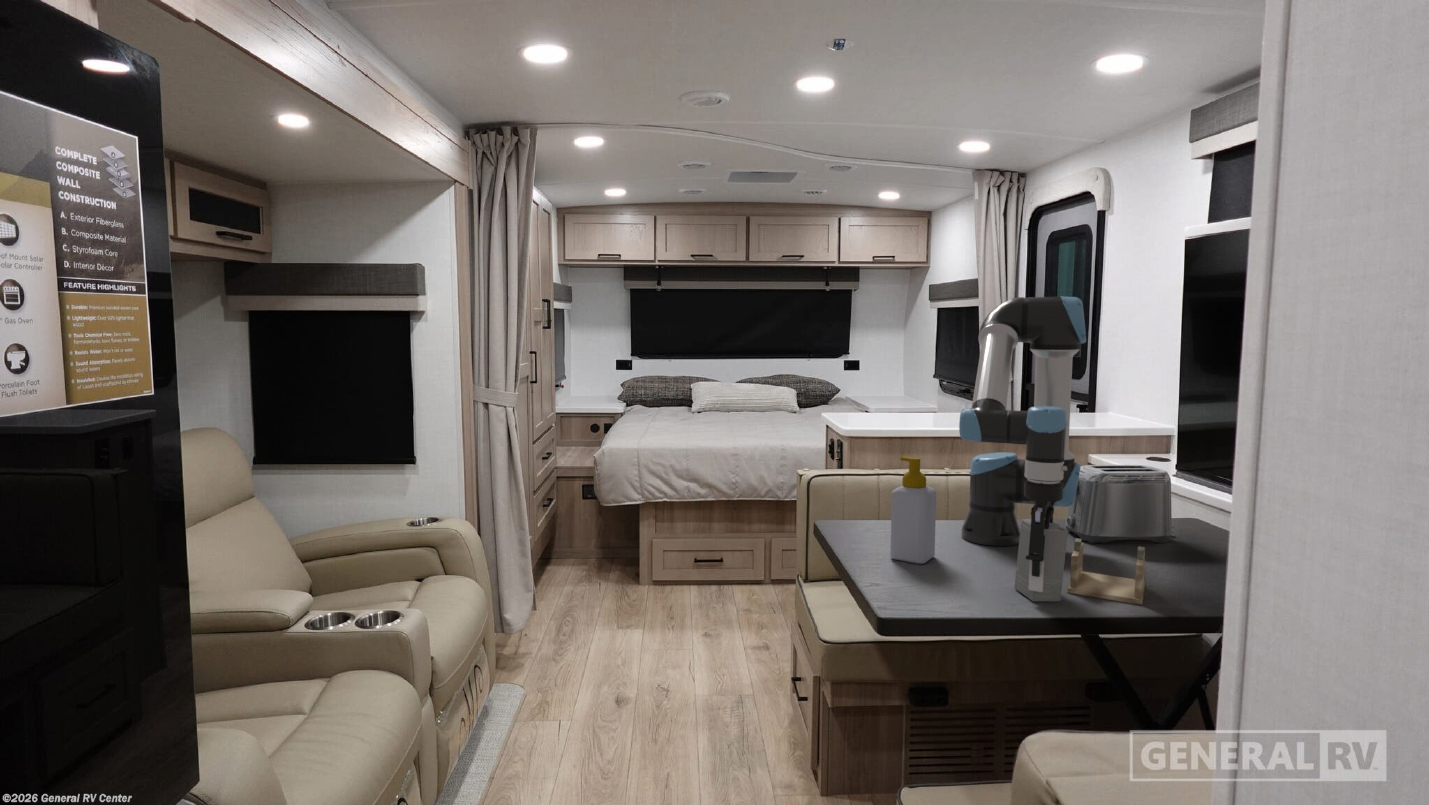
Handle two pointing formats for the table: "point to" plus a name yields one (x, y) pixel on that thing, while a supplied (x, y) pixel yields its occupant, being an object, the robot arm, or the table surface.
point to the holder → (1106, 580)
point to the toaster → (1121, 504)
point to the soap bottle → (913, 517)
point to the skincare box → (1052, 562)
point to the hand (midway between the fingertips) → (1039, 583)
